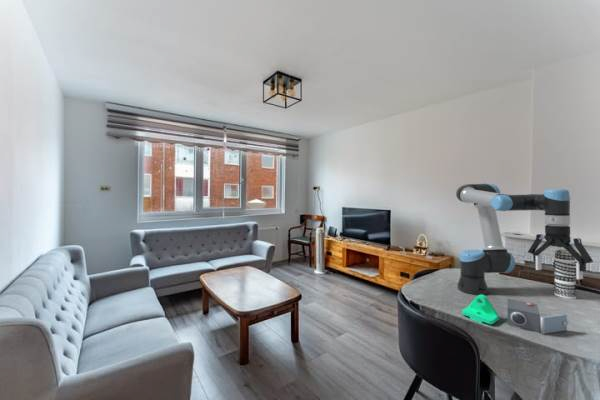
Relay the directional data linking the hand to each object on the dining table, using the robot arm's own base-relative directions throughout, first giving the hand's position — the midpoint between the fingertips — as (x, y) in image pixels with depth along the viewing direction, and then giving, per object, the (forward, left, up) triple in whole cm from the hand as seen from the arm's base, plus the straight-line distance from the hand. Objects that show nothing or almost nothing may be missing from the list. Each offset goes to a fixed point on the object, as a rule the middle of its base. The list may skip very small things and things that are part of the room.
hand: (557, 274), depth 106 cm
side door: (-2, -10, -21) cm, 24 cm away
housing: (-12, -8, -22) cm, 26 cm away
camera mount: (-27, -15, -22) cm, 38 cm away
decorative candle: (+7, +43, -22) cm, 49 cm away
